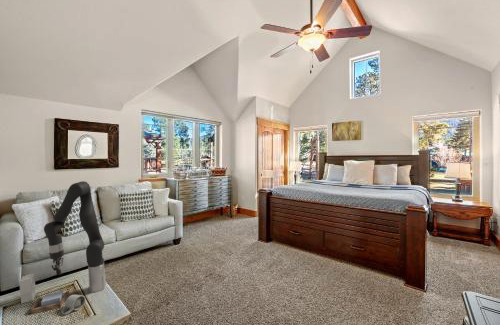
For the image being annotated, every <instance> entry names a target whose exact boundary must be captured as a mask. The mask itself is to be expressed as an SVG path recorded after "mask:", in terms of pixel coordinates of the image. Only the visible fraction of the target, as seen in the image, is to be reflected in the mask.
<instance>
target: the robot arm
mask: <svg viewBox="0 0 500 325" xmlns="http://www.w3.org/2000/svg"><path fill="white" fill-rule="evenodd" d="M91 190H92V189H91V186H90V184H89V183H88V181H82V180H81V181H78V182H74V183H72V184H71V185H70V186H69V188H68V189H67V192H66V194H65V196H64V199H63V201H62V203H61V205H60V206H59V207H58V209H57V211H56V212H55V213H54V215H53V221H50V222H48V223H46V224H45V225H44V227H43V232H44V234H45V236H46V238H47V241H48V255H49V259H50V260H52V264H53V265H51V269H52V270H53V271H54V272H55V271H56V272H55V273H56V276H61V275H62V266H63V265H64V264H63V263H64V257H63V256H64V255H65V251H64V250H65V249H64V243H63V237H62V235H61V233H56V232H57V231H60V230H61V229H62V228H64V226H65V223H66V220H67V218H68V217H69V216H70V214H71V212H72V210H73V205H74V203H75V202H76V200H77V199H80V207H79V213H78V217H79V221H80V222H79V223H80V225H81V227H82V229H83V230H84V231H85V233H86V234H87V237H88V238H87V239H88V242H89V244H88V246H87V247H86V249H85V256H86V257H85V258H86V263H87V268H88V290H89V292H90V293H96V292H100V291H102V290H104V289H105V288H106V285H107V279H106V278H107V277H106V271H105V258H104V257H103V250H104V248H105V243H104V239H103V237H102V234H101V231H100V227H99V222H98V218H97V217H98V216H97V214H96V211H95V208H94V202H93V198H92V191H91Z"/></svg>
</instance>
